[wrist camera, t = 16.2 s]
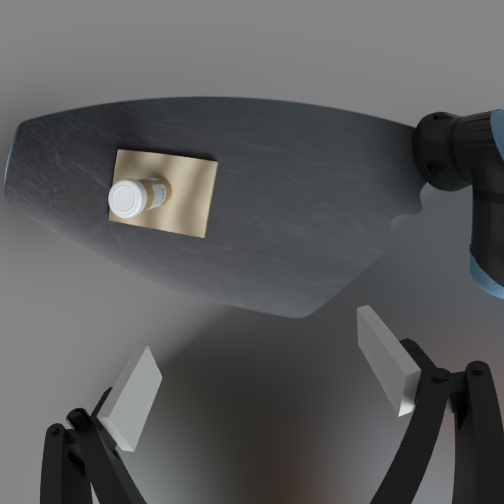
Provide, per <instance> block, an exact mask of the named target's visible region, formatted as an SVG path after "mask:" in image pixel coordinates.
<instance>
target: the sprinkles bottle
mask: <svg viewBox="0 0 504 504" xmlns="http://www.w3.org/2000/svg"><path fill="white" fill-rule="evenodd" d="M171 195H172V187H171V184H170V183H169V182H168V180H166V179H164V178H160V177H157V178H146V179H139V180H135V179H123V180H120V181H118V182H116V183H115V184H114V185H113V186H112V188H111V189H110V192H109V196H108V202H109V206H110V208H111V210H112V212H113V213H114V214H115V215H117V216H118V217H121V218H130V217H133V216H136V215H138V214H139V213H140V212H144V211H147V210H149V209H152V208H155V207H157V206H161V205H164V204H166V203H167V202H168V201H169V200H170V198H171Z"/></svg>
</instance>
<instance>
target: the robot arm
mask: <svg viewBox="0 0 504 504" xmlns="http://www.w3.org/2000/svg"><path fill="white" fill-rule="evenodd" d="M413 148H414V155H415V160H416V163H417V166H418V168H419V170H420V172H421V174H422V175H423V177H424V178H425V179H426V181H427V182H428V183H429V184H431V185H432V186H433V187H435V188H437V189H439V190H443V191H449V192H450V191H451V192H453V191H458V190H461V189H463V188H466V187H468V186H471V185H472V188H473V203H472V204H473V205H472V233H471V244H470V248H469V250H470V264H469V269H470V273H471V275H472V278H473V280H474V281H475V282H476V284H477V285H478V286H479V287H481V288H482V289H483V290H485V291H487V292H488V293H490V294H492V295H494V296H496V297H499V298H502V299H503V298H504V110H503V109H497V110H494V111H490V112H484V113H479V114H473V115H468V116H464V117H461V116H458V115H454V114H450V113H446V112H436V113H432V114H429V115H427V116H425V117H424V118H423V119H422V120H421V121H420V122H419V123H418V125H417V127H416V130H415V134H414V140H413ZM357 318H358V345H359V347H360V349H361V350H362V352H363V354H364V355H365V357H366V359H367V361H368V362H369V364H370V366H371V368H372V369H373V371H374V373H375V374H376V376H377V378H378V380H379V382H380V383H381V385H382V387H383V389H384V391H385V392H386V394H387V396H388V398H389V400H390V401H391V403H392V405H393V407H394V409H395V411H396V413H397V414H398V416H401V415H404V414H406V413H409V412H411V411H413V407H414V403H415V405H416V407H415V410H414V413H413V415H412V418H411V420H410V423H409V426H408V428H407V431H406V433H405V435H404V438H403V440H402V442H401V445H400V447H399V449H398V451H397V453H396V456H395V458H394V460H393V462H392V464H391V466H390V468H389V470H388V472H387V474H386V476H385V478H384V479H383V481H382V483H381V485H380V487H379V488H378V490H377V492H376V494H375V495H374V497H373V499H372V501H371V502H370V504H411V503H412V501H413V499H414V496H415V494H416V492H417V490H418V487H419V485H420V483H421V481H422V478H423V476H424V474H425V471H426V468H427V466H428V463H429V460H430V457H431V455H432V452H433V449H434V446H435V443H436V440H437V437H438V434H439V430H440V427H441V423H442V420H443V416H444V414H450V413H454V422H455V474H454V488H453V498H452V504H504V431H503V425H502V419H501V414H500V409H499V404H498V399H497V394H496V390H495V386H494V382H493V379H492V375H491V372H490V368H489V366H488V365H487V364H486V363H485V362H482V361H473V362H471V363H469V364H468V365H467V367H466V370H465V371H462V372H457V373H450V372H449V371H448V370H446V369H444V368H437V367H436V366H435V364H434V363H433V362H432V361H431V360H430V359H429V357H428V356H427V355H426V354H425V353H424V352H423V350H422V349H420V347H419V346H418V345H417V343H416V342H414V341H412V340H410V339H408V338H407V339H404V340H401V341H398V340H397V339H396V337H395V336H394V335H393V334H392V333H391V331H390V330H389V329H388V328H387V326H386V325H385V324H384V323H383V322H382V321H381V319H380V318H379V317H378V316H377V314H376V313H375V312H374V311H373V310H372V308H371V307H370V306H369V305H366V306H363V307H359V308H357ZM161 380H162V376H161V374H160V371H159V369H158V367H157V365H156V363H155V361H154V359H153V356H152V354H151V352H150V349H149V347H148V345H145V346H137V348H136V350H135V351H134V353H133V355H132V356H131V358H130V359H129V361H128V363H127V365H126V366H125V368H124V369H123V371H122V373H121V375H120V376H119V378H118V380H117V381H116V383H115V385H114V387H110V388H109V389H108V390H107V391H105V392H104V394H103V395H102V397H101V400H99V402H98V404H97V406H96V407H95V409H94V411H93V412H92V414H91V416H89V414H88V413H87V412H86V410H85V409H83V408H76V409H74V410H72V411H71V412H70V413H69V414H68V415H67V418H66V420H67V422H68V423H69V424H70V426H71V427H72V428H73V429H65V428H64V426H63V425H62V424H60V423H56V424H53V425H51V426H50V427H49V428H48V429H47V432H46V437H45V444H44V452H43V460H42V471H41V486H40V504H93V501H92V492H91V484H92V486H93V489H94V491H95V494H96V496H97V498H98V501H99V503H100V504H147V503H146V502H145V500H144V498H143V497H142V495H141V494H140V492H139V490H138V489H137V487H136V485H135V484H134V482H133V480H132V478H131V476H130V475H129V473H128V471H127V469H126V467H125V465H124V464H123V461H122V459H121V457H120V456H119V453H118V452H117V451H116V449H115V447H116V445H117V444H118V445H119V447H120V448H121V449H122V450H125V451H135V448H136V445H137V442H138V440H139V437H140V434H141V432H142V429H143V426H144V424H145V421H146V418H147V416H148V413H149V411H150V408H151V406H152V403H153V400H154V398H155V395H156V393H157V390H158V388H159V385H160V383H161ZM90 481H91V482H90Z"/></svg>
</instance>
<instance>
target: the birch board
mask: <svg viewBox="0 0 504 504" xmlns="http://www.w3.org/2000/svg"><path fill="white" fill-rule="evenodd" d="M217 167H218V162H214V161H208V160H202V159H195V158H188V157H181V156H174V155H166V154H158V153H149V152H139V151H129V150H118V152H117V158H116V164H115V171H114V178H113V185H114V184H115V183H116V182H118V181H120V180H123V179H135V180H139V179H146V178H157V177H160V178H164V179H166V180H168V182H169V183H170V184H171V187H172V195H171V198H170V200H169V201H168V202H167V203H166V204H164V205H161V206H157V207H155V208H152V209H149V210H147V211H144V212H140V213H139V214H138V215H136V216H133V217H130V218H121V217H118V216H117V215H115V214H114V213H113V212H112V210H111V208H110V211H109V220H111V221H116V222H121V223H127V224H132V225H138V226H143V227H148V228H154V229H159V230H164V231H170V232H175V233H180V234H186V235H191V236H196V237H202V238H204V237H205V235H206V229H207V223H208V217H209V211H210V205H211V200H212V194H213V189H214V183H215V178H216V173H217ZM113 185H112V186H113Z"/></svg>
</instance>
